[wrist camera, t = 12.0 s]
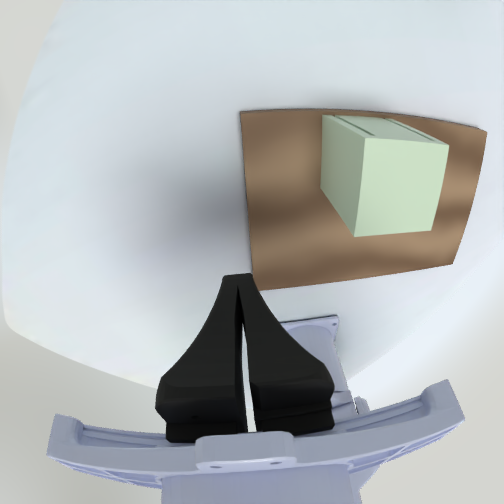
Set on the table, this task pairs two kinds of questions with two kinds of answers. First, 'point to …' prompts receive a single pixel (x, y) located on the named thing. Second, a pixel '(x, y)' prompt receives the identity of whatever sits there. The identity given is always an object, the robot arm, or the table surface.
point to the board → (324, 214)
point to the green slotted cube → (381, 174)
